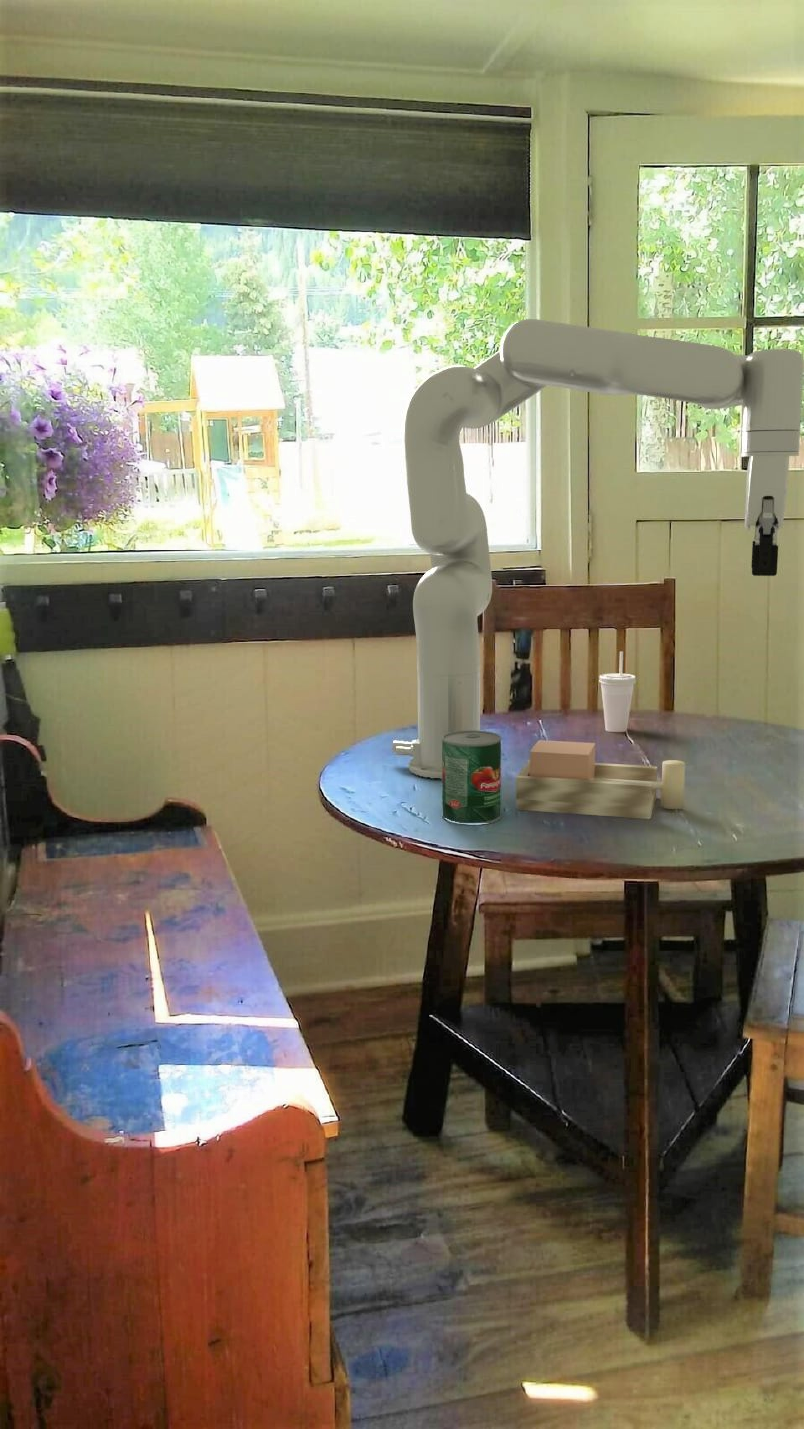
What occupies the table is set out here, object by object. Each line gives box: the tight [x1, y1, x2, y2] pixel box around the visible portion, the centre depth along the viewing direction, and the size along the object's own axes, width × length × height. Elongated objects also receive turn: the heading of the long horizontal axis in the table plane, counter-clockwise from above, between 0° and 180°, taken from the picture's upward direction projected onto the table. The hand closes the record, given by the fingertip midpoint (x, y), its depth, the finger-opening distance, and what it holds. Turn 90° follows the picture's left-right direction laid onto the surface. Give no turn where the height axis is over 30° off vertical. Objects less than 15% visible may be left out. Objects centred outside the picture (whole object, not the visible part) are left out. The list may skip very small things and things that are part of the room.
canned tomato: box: [441, 730, 502, 824], centre depth 153 cm, size 8×8×11 cm
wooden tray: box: [515, 759, 658, 820], centre depth 159 cm, size 18×11×4 cm, turn 74°
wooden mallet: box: [529, 739, 686, 810], centre depth 158 cm, size 20×7×7 cm, turn 74°
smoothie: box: [598, 651, 637, 733], centre depth 202 cm, size 6×6×14 cm
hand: (763, 572), depth 159 cm, fingers open, 9 cm apart
